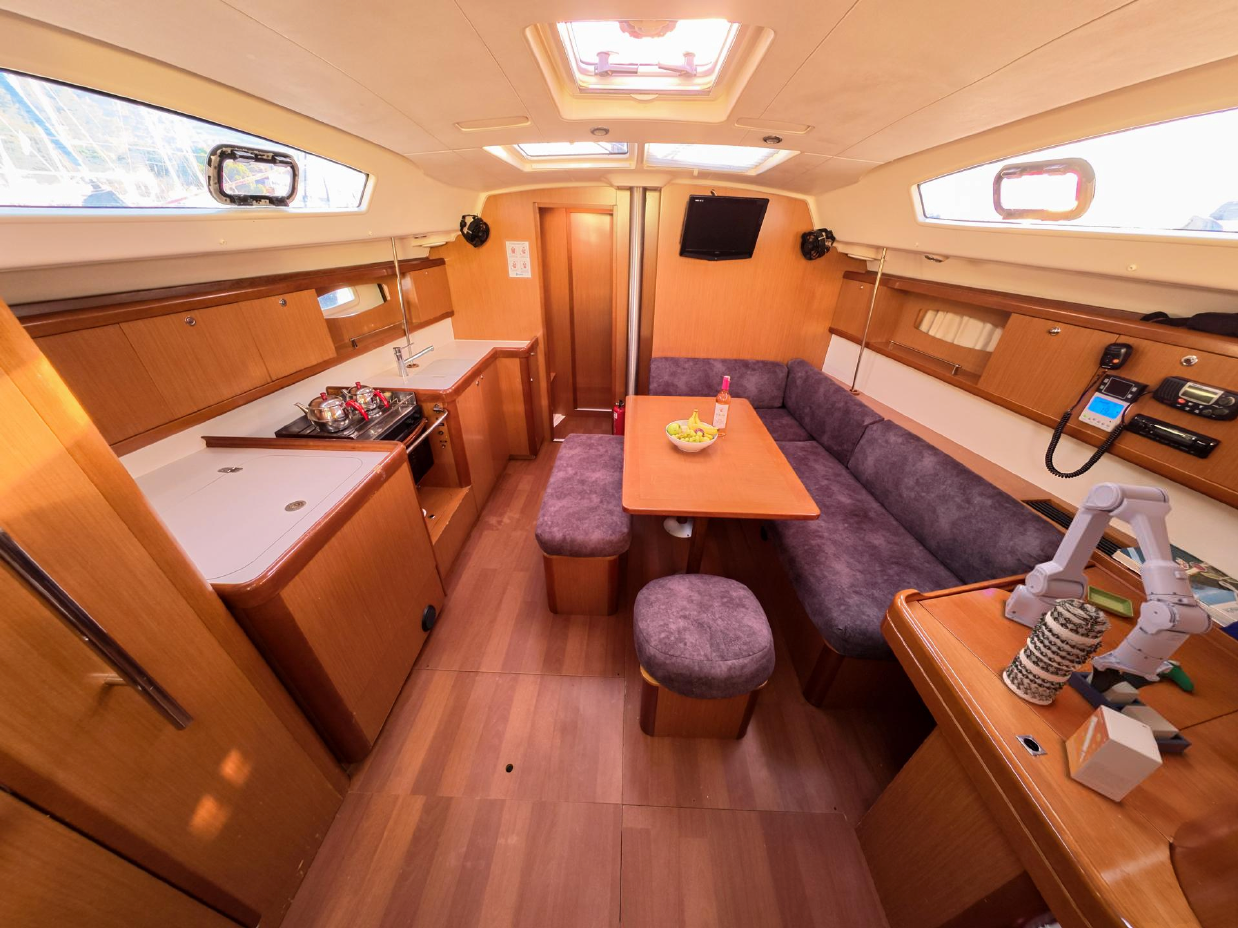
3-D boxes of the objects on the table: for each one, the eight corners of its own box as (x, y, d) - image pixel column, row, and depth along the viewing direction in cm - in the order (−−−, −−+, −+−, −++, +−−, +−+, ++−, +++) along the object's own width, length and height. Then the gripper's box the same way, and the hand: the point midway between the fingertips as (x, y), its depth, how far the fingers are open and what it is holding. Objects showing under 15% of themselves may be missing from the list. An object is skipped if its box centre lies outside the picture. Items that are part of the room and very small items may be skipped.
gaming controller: (1179, 689, 94) (1175, 662, 96) (1197, 692, 90) (1193, 664, 92) (1128, 677, 96) (1125, 650, 98) (1144, 679, 93) (1140, 652, 95)
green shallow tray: (1083, 604, 115) (1087, 598, 114) (1084, 589, 121) (1088, 584, 120) (1129, 622, 110) (1133, 616, 109) (1127, 606, 115) (1131, 600, 114)
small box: (1063, 742, 81) (1100, 703, 75) (1109, 765, 77) (1151, 726, 71) (1069, 777, 75) (1109, 737, 69) (1119, 803, 72) (1165, 764, 66)
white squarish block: (1106, 703, 87) (1117, 692, 85) (1083, 682, 91) (1092, 671, 89) (1129, 704, 87) (1140, 693, 85) (1104, 683, 91) (1114, 671, 89)
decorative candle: (1031, 709, 87) (1096, 629, 76) (990, 671, 95) (1043, 593, 84) (1065, 703, 88) (1134, 624, 77) (1022, 666, 96) (1078, 589, 85)
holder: (1141, 751, 80) (1151, 742, 78) (1065, 679, 93) (1072, 671, 92) (1182, 752, 80) (1192, 743, 78) (1100, 680, 93) (1107, 672, 92)
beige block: (1142, 741, 81) (1154, 730, 79) (1115, 716, 85) (1126, 705, 83) (1166, 742, 81) (1179, 730, 79) (1138, 717, 85) (1150, 706, 83)
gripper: (1133, 663, 79) (1095, 705, 85) (1206, 665, 79) (1163, 707, 85) (1096, 634, 85) (1062, 675, 91) (1163, 636, 85) (1126, 677, 91)
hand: (1108, 689), depth 88 cm, fingers closed on white squarish block, 5 cm apart
